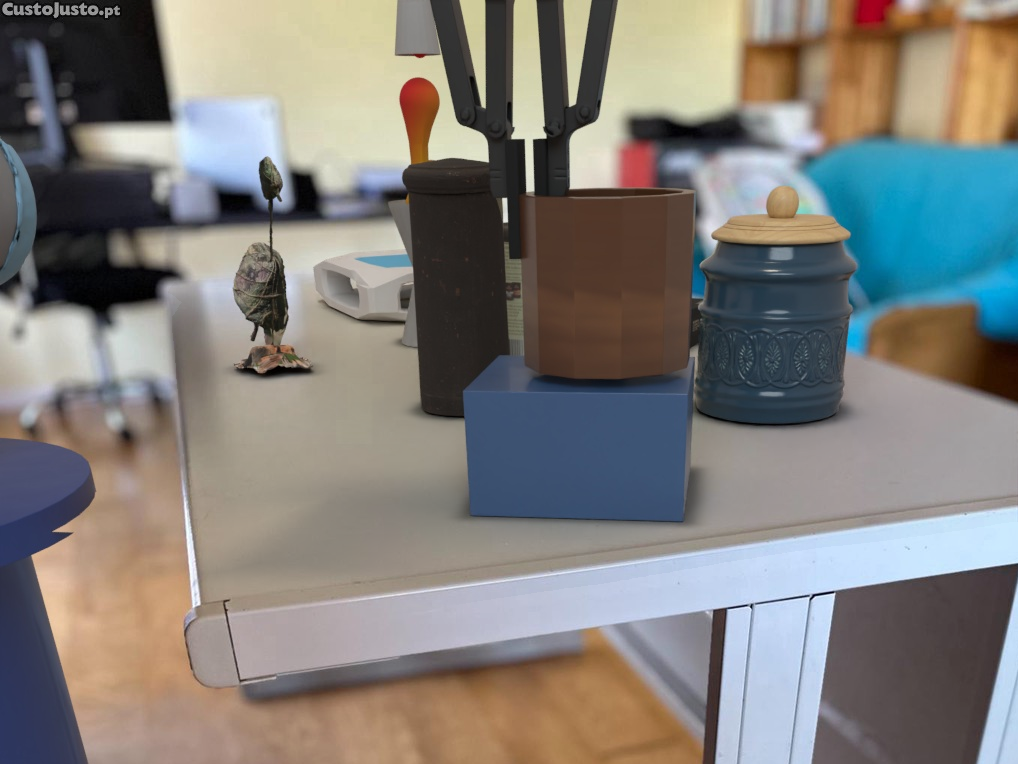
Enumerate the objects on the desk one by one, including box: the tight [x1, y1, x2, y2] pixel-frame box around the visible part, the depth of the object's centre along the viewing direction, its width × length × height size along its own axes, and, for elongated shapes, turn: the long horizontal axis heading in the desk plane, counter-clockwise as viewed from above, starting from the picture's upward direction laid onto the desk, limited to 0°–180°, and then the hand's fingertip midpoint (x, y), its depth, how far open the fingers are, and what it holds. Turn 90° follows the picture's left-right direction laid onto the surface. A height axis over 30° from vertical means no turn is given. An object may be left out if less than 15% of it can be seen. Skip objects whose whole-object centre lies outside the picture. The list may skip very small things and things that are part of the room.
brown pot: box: [519, 186, 697, 380], centre depth 69 cm, size 11×11×10 cm
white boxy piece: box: [312, 248, 414, 323], centre depth 153 cm, size 21×28×6 cm
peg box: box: [463, 355, 696, 523], centre depth 73 cm, size 14×12×12 cm
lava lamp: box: [387, 0, 442, 348], centre depth 121 cm, size 9×9×35 cm
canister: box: [694, 185, 859, 425], centre depth 92 cm, size 13×13×18 cm
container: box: [401, 157, 510, 417], centre depth 94 cm, size 9×9×20 cm
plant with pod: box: [232, 156, 314, 374], centre depth 112 cm, size 8×11×20 cm
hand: (532, 256), depth 69 cm, fingers closed on brown pot
